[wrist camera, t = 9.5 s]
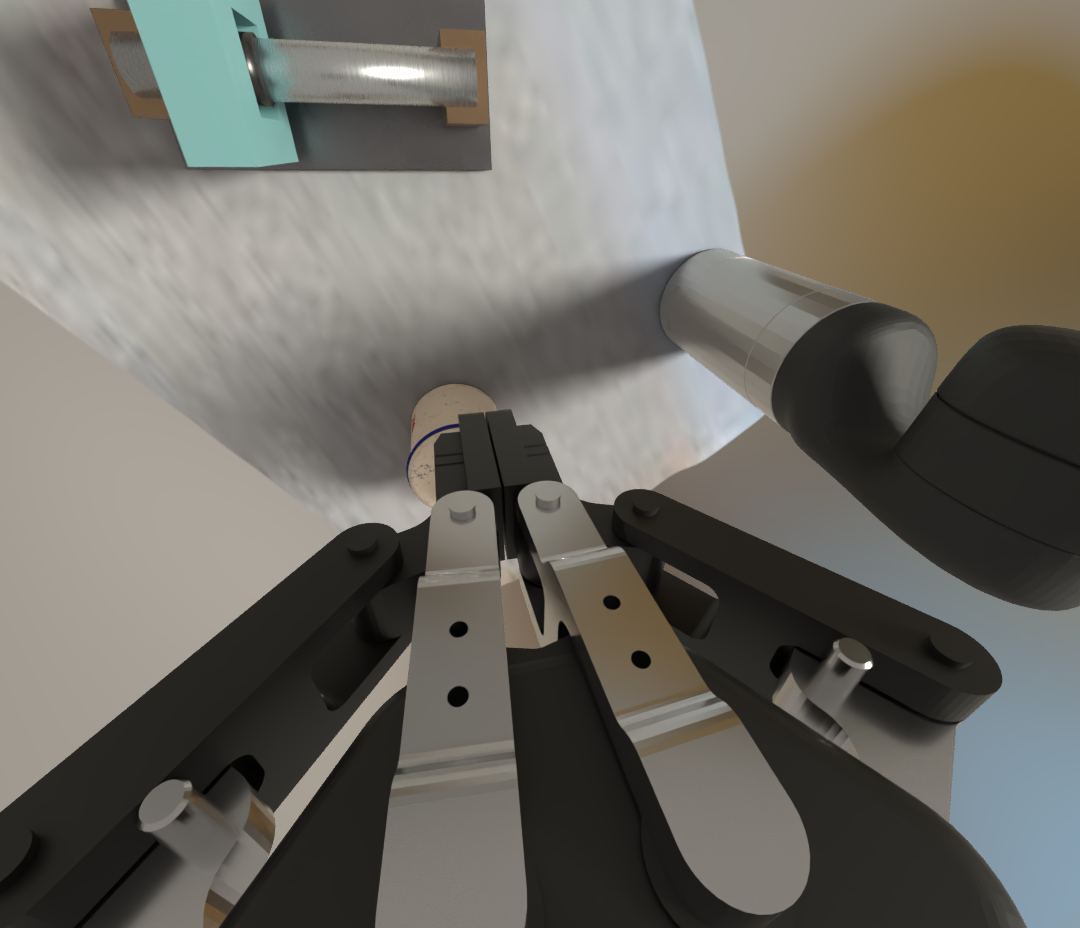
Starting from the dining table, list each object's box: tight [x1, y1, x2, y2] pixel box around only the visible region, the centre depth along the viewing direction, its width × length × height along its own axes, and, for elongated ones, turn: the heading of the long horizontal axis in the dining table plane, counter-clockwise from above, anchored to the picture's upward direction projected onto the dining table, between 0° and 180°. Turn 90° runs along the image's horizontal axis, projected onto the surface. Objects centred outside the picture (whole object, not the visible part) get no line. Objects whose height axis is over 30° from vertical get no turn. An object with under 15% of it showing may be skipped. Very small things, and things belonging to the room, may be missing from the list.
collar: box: [127, 0, 299, 167], centre depth 23 cm, size 3×8×9 cm, turn 179°
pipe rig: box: [90, 0, 492, 170], centre depth 26 cm, size 20×9×8 cm, turn 89°
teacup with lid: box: [407, 384, 498, 508], centre depth 41 cm, size 12×9×12 cm
